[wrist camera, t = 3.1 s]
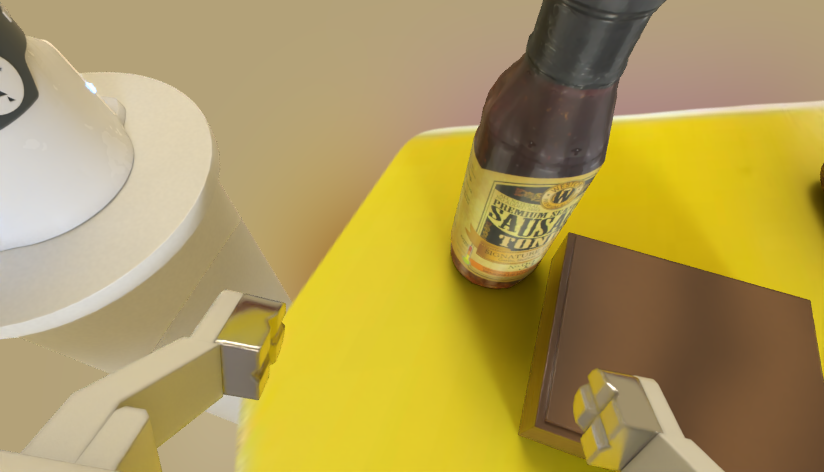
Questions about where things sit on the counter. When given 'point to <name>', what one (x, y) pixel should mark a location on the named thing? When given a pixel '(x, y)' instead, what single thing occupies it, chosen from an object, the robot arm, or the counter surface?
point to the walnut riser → (680, 355)
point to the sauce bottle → (543, 137)
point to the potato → (822, 176)
